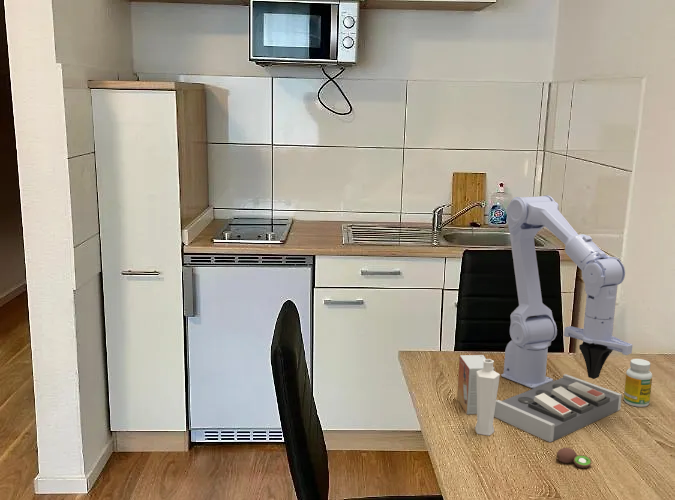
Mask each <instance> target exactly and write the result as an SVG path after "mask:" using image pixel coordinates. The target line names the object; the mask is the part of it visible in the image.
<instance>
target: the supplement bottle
mask: <svg viewBox="0 0 675 500" xmlns="http://www.w3.org/2000/svg"><path fill="white" fill-rule="evenodd" d="M629 366H630V367H629V368H628V369H627V370H626V372H625V382H624V389H623V390H624V393H623V400H624V401H623V402H625V403H626V404H628V405H630V406H633V407H637V408H639V407H641V408H643V407H644V408H645V407H647V406H648V405H650V400H651V392H652V383H653V373H652V372H651V371H650V369H651V362H650V361H649V360H646V359H642V358H632V359H630V363H629Z"/></svg>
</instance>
